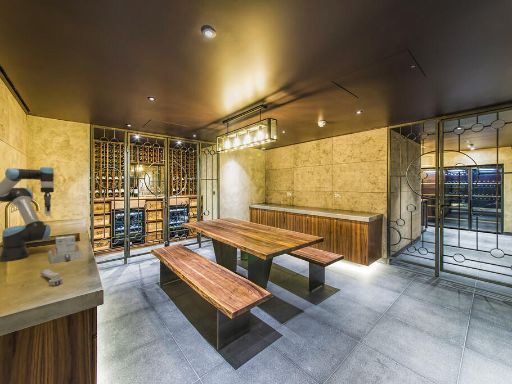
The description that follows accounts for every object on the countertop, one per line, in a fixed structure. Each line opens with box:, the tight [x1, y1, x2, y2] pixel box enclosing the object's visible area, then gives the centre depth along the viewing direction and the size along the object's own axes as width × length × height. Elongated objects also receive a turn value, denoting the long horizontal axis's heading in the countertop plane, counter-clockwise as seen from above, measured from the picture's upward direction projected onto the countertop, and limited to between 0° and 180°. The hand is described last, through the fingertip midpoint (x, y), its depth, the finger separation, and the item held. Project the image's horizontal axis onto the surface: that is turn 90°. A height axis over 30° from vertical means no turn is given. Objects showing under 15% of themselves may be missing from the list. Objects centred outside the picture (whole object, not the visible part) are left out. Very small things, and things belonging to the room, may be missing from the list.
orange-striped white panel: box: [47, 243, 84, 264], centre depth 169 cm, size 23×18×8 cm
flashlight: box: [40, 268, 63, 287], centre depth 130 cm, size 5×7×25 cm
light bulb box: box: [55, 235, 76, 253], centre depth 170 cm, size 11×7×11 cm, turn 141°
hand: (47, 215), depth 173 cm, fingers open, 13 cm apart
